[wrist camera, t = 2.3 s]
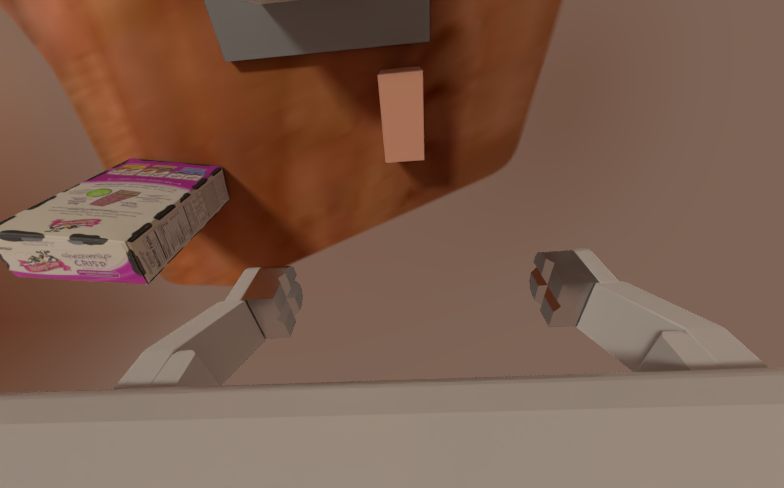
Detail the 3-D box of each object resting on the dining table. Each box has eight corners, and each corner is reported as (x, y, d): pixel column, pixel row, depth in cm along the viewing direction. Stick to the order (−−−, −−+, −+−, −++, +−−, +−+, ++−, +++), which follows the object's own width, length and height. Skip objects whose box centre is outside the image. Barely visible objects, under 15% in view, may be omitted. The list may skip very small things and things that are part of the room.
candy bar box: (146, 194, 39) (13, 279, 25) (130, 157, 36) (-30, 230, 22) (233, 201, 39) (148, 288, 26) (224, 165, 36) (122, 241, 23)
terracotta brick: (419, 65, 30) (422, 70, 26) (421, 145, 35) (424, 160, 31) (380, 69, 30) (377, 74, 26) (387, 147, 35) (385, 162, 31)
